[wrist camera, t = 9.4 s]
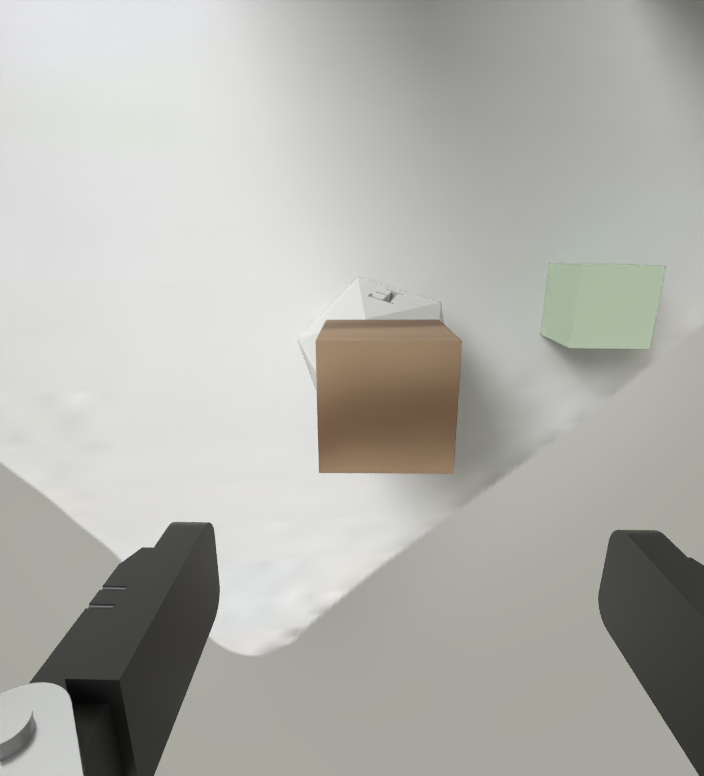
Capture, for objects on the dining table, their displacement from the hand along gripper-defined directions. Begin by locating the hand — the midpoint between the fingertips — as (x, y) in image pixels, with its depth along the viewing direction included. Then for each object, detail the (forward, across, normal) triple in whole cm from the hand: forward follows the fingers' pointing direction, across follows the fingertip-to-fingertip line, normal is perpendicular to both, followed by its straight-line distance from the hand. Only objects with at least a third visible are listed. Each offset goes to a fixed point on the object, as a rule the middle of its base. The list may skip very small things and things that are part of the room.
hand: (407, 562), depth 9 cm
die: (+23, 0, 0) cm, 23 cm away
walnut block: (+15, 0, 0) cm, 15 cm away
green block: (+22, -13, -3) cm, 26 cm away
